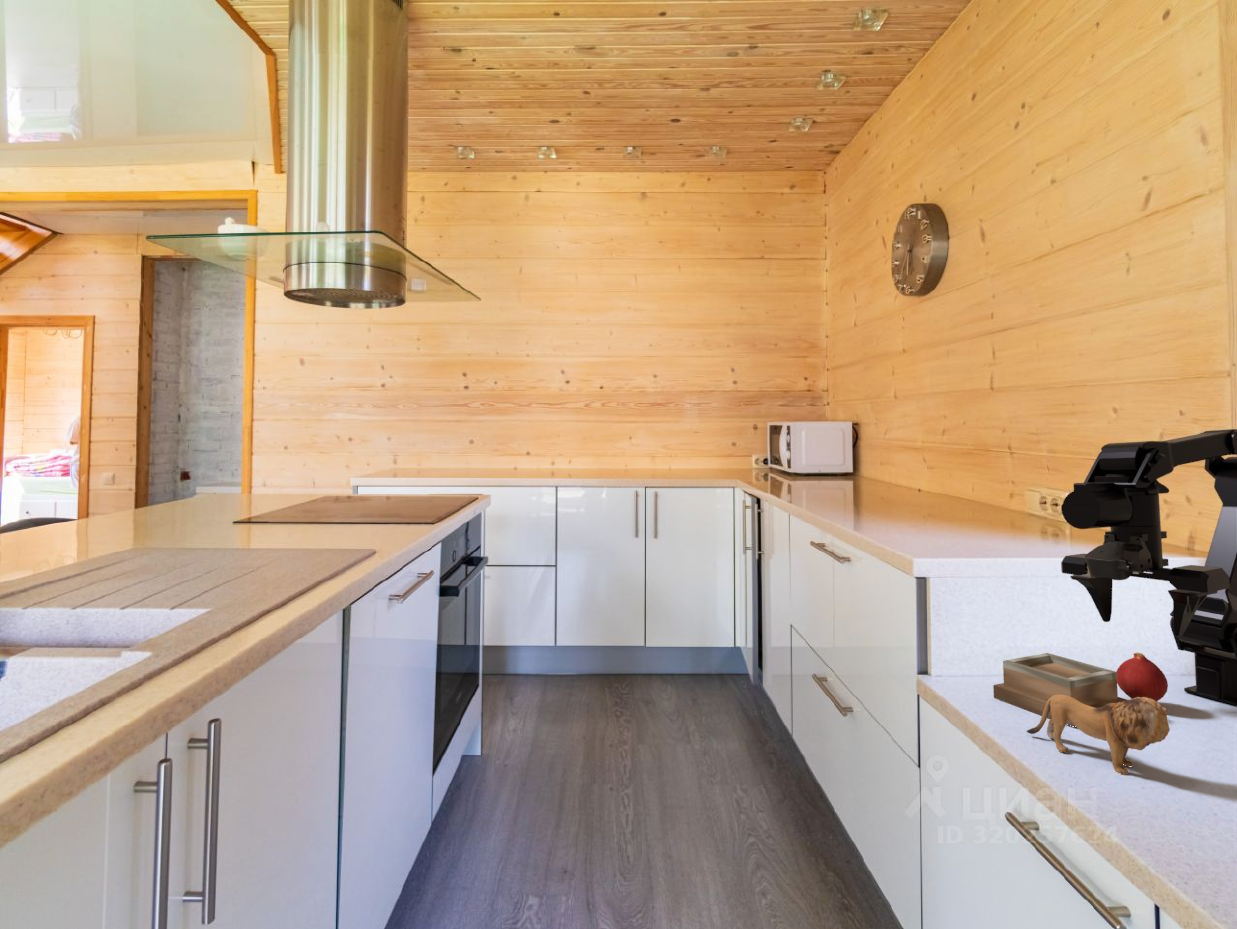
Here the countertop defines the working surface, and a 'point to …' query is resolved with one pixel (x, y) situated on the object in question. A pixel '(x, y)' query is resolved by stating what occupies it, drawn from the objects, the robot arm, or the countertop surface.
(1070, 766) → the countertop surface
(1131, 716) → the lion figurine
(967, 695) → the countertop surface
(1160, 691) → the onion
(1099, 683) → the wooden tray on base
